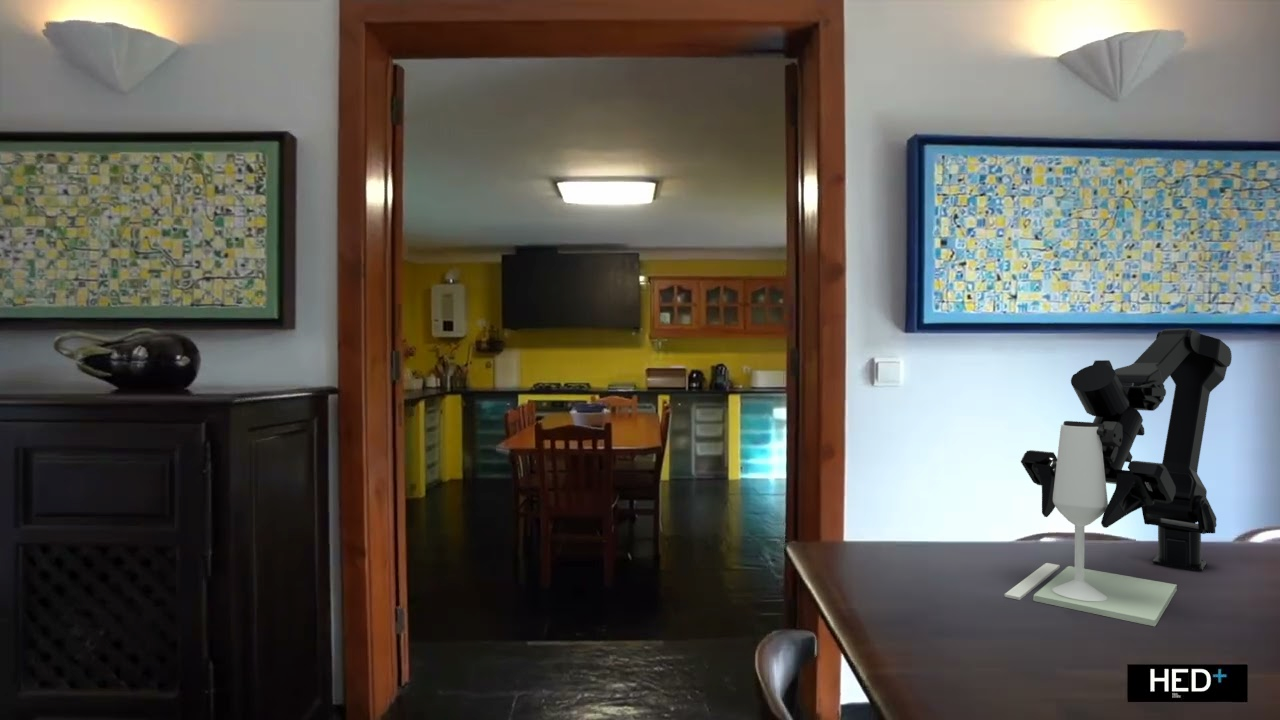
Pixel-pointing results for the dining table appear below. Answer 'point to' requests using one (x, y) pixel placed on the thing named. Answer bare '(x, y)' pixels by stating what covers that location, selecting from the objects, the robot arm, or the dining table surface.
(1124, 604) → the pale green flat slabs
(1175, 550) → the robot arm
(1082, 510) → the champagne flute
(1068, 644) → the dining table surface
